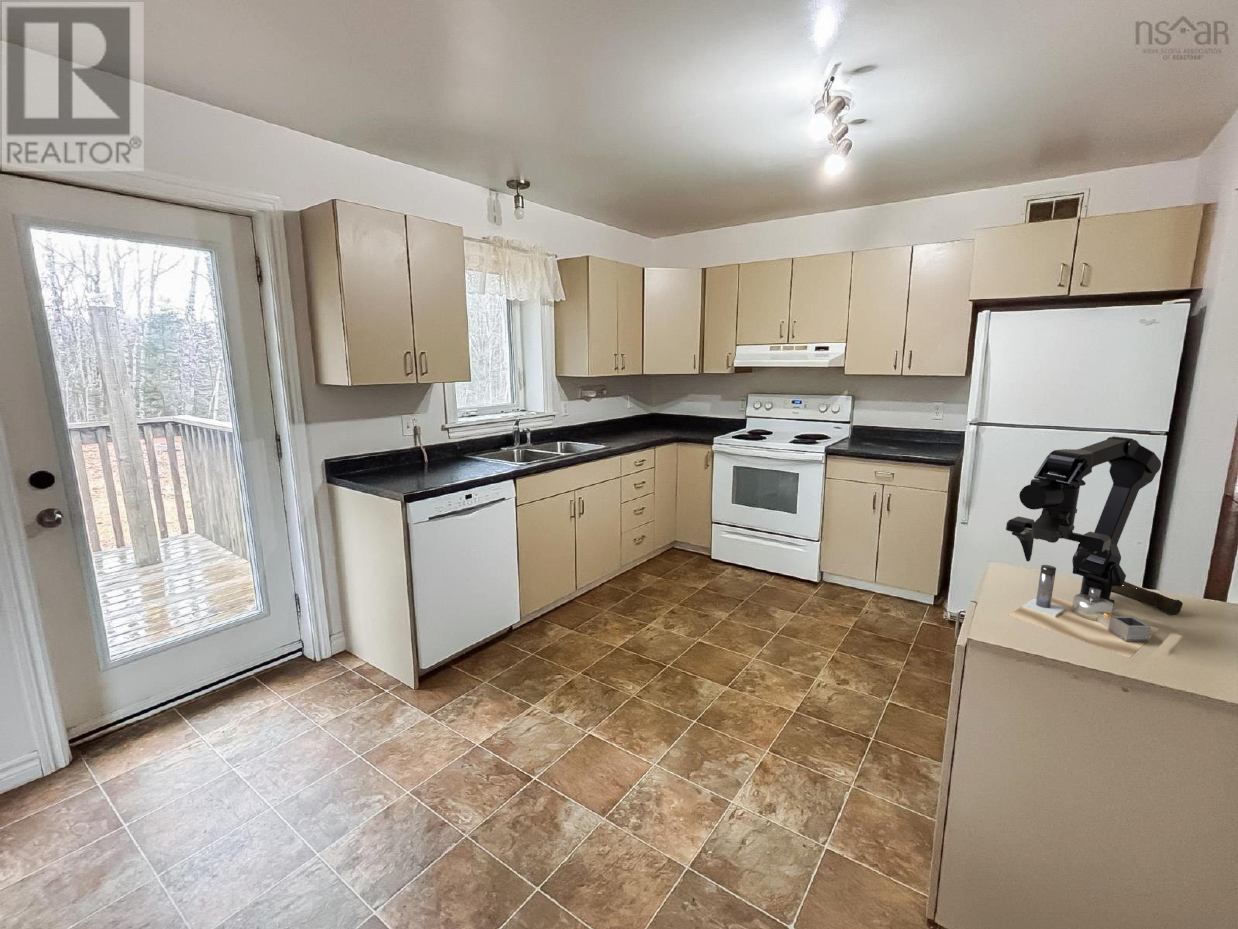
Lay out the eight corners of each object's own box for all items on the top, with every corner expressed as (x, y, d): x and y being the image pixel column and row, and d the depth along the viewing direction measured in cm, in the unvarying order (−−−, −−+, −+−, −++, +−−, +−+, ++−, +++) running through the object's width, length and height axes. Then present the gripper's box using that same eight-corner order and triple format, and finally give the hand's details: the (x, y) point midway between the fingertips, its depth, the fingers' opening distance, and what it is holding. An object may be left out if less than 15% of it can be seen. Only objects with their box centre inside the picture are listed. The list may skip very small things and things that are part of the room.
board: (1041, 599, 140) (1042, 593, 140) (1157, 635, 122) (1159, 628, 122) (1007, 621, 129) (1007, 615, 129) (1128, 664, 111) (1129, 657, 111)
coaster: (1034, 600, 136) (1034, 597, 136) (1065, 609, 131) (1066, 607, 131) (1023, 607, 133) (1023, 604, 133) (1055, 617, 128) (1055, 615, 127)
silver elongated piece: (1064, 607, 132) (1068, 582, 131) (1094, 607, 132) (1098, 582, 130) (1120, 641, 117) (1125, 614, 115) (1153, 642, 116) (1159, 614, 115)
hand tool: (1182, 615, 131) (1186, 597, 130) (1169, 617, 130) (1173, 599, 129) (1100, 583, 149) (1103, 567, 148) (1088, 584, 148) (1091, 568, 147)
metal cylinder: (1033, 604, 132) (1039, 566, 130) (1038, 601, 134) (1043, 563, 132) (1047, 609, 130) (1053, 570, 128) (1052, 605, 132) (1057, 567, 130)
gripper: (1000, 501, 130) (991, 562, 133) (1099, 520, 114) (1087, 589, 118) (1020, 494, 136) (1011, 552, 139) (1117, 511, 120) (1105, 577, 124)
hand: (1050, 567), depth 130 cm, fingers open, 9 cm apart
